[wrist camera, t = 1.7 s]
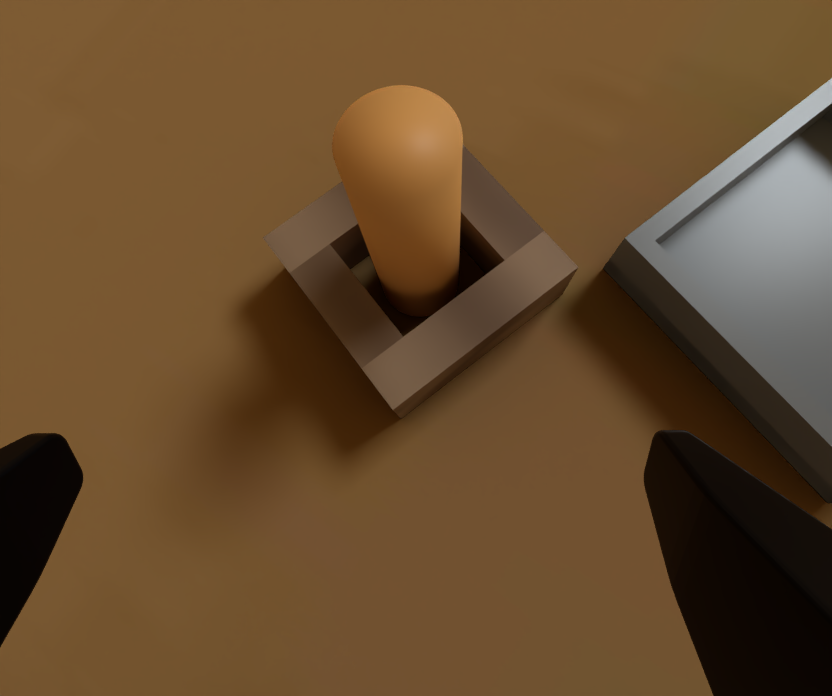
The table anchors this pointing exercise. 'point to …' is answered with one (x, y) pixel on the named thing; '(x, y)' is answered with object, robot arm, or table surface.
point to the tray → (753, 282)
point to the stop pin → (405, 191)
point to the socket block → (455, 322)
